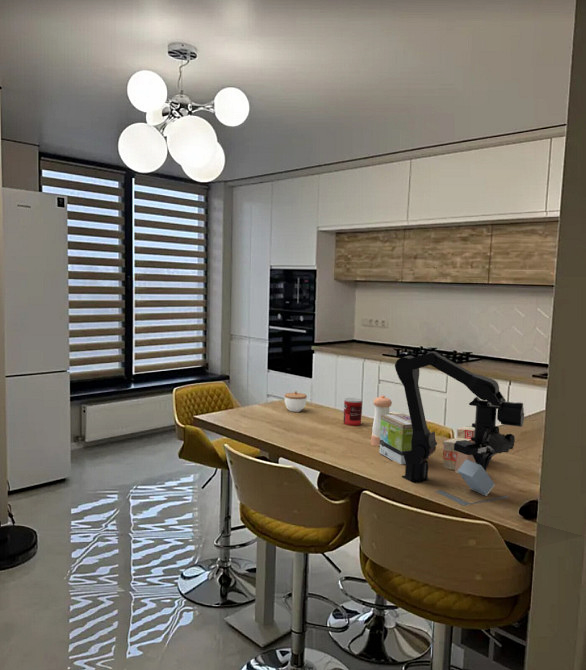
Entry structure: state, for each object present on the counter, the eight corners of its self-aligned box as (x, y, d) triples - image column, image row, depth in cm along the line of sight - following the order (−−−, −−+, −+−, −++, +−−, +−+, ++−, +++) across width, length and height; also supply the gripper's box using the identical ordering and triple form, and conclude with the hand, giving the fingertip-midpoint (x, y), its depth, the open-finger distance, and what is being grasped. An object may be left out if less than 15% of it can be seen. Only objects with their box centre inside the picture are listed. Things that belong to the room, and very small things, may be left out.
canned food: (348, 420, 255) (349, 397, 255) (364, 423, 251) (365, 399, 250) (339, 423, 249) (341, 399, 248) (355, 426, 245) (357, 402, 244)
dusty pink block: (478, 475, 185) (482, 449, 183) (464, 477, 182) (468, 451, 181) (468, 469, 189) (472, 444, 187) (455, 471, 186) (458, 446, 184)
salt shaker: (368, 445, 216) (371, 396, 214) (373, 440, 223) (375, 393, 221) (387, 447, 213) (390, 398, 212) (391, 443, 220) (394, 395, 219)
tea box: (378, 453, 205) (380, 413, 204) (401, 451, 209) (403, 412, 208) (400, 466, 191) (403, 423, 190) (425, 464, 195) (428, 422, 194)
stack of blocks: (459, 471, 186) (458, 434, 186) (443, 468, 191) (441, 432, 191) (491, 459, 201) (490, 425, 201) (475, 457, 205) (474, 423, 205)
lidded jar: (306, 408, 278) (307, 390, 277) (305, 413, 267) (306, 394, 266) (285, 407, 279) (285, 388, 278) (282, 412, 268) (283, 392, 267)
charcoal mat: (463, 507, 157) (463, 505, 157) (434, 492, 167) (434, 491, 167) (509, 498, 165) (509, 496, 165) (478, 484, 176) (479, 483, 176)
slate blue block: (486, 496, 165) (472, 477, 161) (471, 489, 170) (457, 470, 167) (495, 484, 166) (481, 465, 163) (479, 478, 171) (466, 459, 168)
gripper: (482, 431, 155) (479, 486, 156) (530, 425, 163) (526, 477, 165) (454, 421, 165) (451, 473, 166) (499, 417, 173) (496, 466, 174)
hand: (482, 473), depth 167 cm, fingers closed
